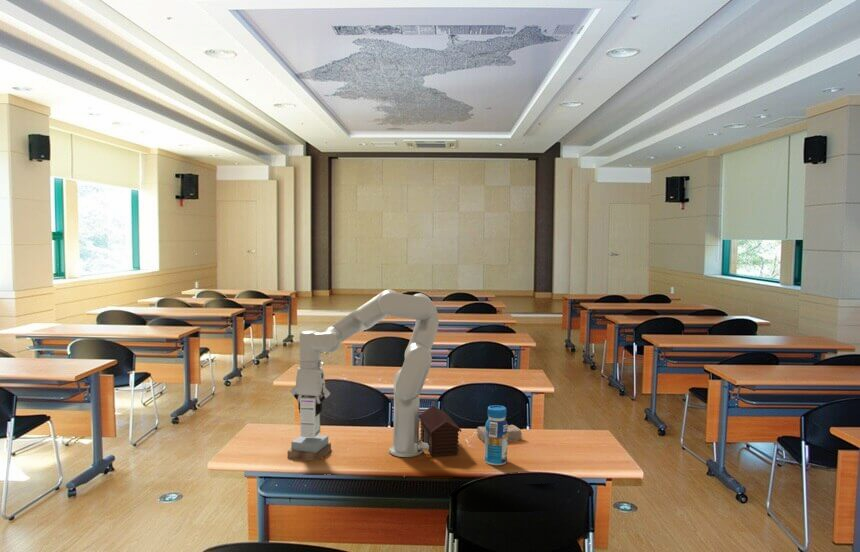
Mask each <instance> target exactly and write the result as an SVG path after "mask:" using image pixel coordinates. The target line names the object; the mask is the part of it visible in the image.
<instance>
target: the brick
mask: <svg viewBox="0 0 860 552" xmlns="http://www.w3.org/2000/svg"><path fill="white" fill-rule="evenodd" d="M485 430H486V427H485V426H477V429H476V433H477V434H476V435H477V437H478V438H479V440H481V441H482V442H483V443H484V444H485ZM507 431H508V442H511V441H512V442H514V441H521V440H522V430H521V429H520V428H519V427H517V426H516V425H514V424H510V425H509V424H508V429H507Z"/></svg>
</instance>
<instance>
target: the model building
mask: <svg viewBox="0 0 860 552" xmlns="http://www.w3.org/2000/svg"><path fill="white" fill-rule="evenodd" d="M419 421H420V426H419V438H420V439H421V442H422V443H428V445H430V449H429V450H427V451H428V452H429V454H430V456H431V457H449V456H458V455H457V454H459V444H460V443H459V439H460V437H459V432H460V433H462V429H461V428H460V427H459V426H458V424H457V423H456V422H455V421H454V420H453V418H451V416H450V415H448V413H446V412H445V411H443V410H441V409H440V408H439V407H437V406H435V401H432V406H430V407H428V408H427V409H426V410H424V411H423V412H421V413H419Z"/></svg>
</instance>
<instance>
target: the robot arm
mask: <svg viewBox="0 0 860 552" xmlns="http://www.w3.org/2000/svg"><path fill="white" fill-rule="evenodd" d="M437 310H438V309H437V307H436V305H435V304H434V302H433V301H432V299H431V298H430V297H429V296H428V295H427V294H424V293H422V292H419V293H415V294H404V293H399V292H397V291H395V290H394V289H385V290H383V291H381V292H380V293H378V294H377V295H375V296H374V297H373V298H371V299H369V300H368V301H367V302H365V303H364V304H362V305H360V306H359V307H357V308H356V309H355V310H353V311H352V312H351V313H349V314H348V315H346V316H345V317H343V318H341V319H340V320H338V321H337V322H335V323H334V324H332V325H330V326H329V327H328V328H327V329H326V330H324V332H319V331H318V330H311V329H310V330H303V331H301V332H300V333H299V338H298V339H299V342H298V343H299V366H298V367H297V372H296V378H295V385H294V386H293V388H292V389H291V390H290V394H291V395H292V396H293V397H294V398H295V399H296V401H297V404H298V405H297V406H298V410H299V414H300V399H301V398H302V397H304V396H305V395H307V396H315V397H316V400H317V404H316V414H319V413H320V414H321V412H322V411H323V402H324V400H326V399H327V398H328V397H329V396H330V395H331V392H330V391H329V390H328V389H327V388H326V381H325V380H326V379H325V373H324V368H323V366H324V365H325V363H324V361H323V362H322V359H321V352H324V353H334V352H337V351H338V350H339V349H340V348H341V347H340V346H341V344H342V343H343V342H344V341H346V340H348V339H349V338H350V337H352V336H353V335H355V334H357V333H359V332H362V331H366V330H368V329H371V328H372V327H374V326H375V325H376V324H378V323H379V322H381V321H382V320H384V319H385V318H387V317H388V316H391V317H396V318H403V319H404V318H405V319H410V320H415V325H414V327H413V331H412V333H411V337H410V339H409V342H408V344H407V347H406V348H405V351H404V361H403V364H402V366H401V368H400V369H399V370H398V371H397V372H396V373H395V375H394V377H393V438H392V439H393V442H392V443H393V444H392V445H391V446H390V447H389V449H388V451H389V454H391V455H393V456H395V457H399V458H413V457H417V456H420V455H422V454H423V451H428V450H429V449H430V445H428V443H423V441H422V440H421V438H420V418H419V415H420V394H421V392H422V391H423V387H424V385H425V382H426V379H427V376H428V375H429V371H430V369H431V365H432V361H433V360H432V357H433V356H432V354H431V352H432V348H433V345H434V342H435V339H436V336H437V332H438V329H439V322H440V321H439V313H438V311H437ZM322 394H324V395H322Z"/></svg>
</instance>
